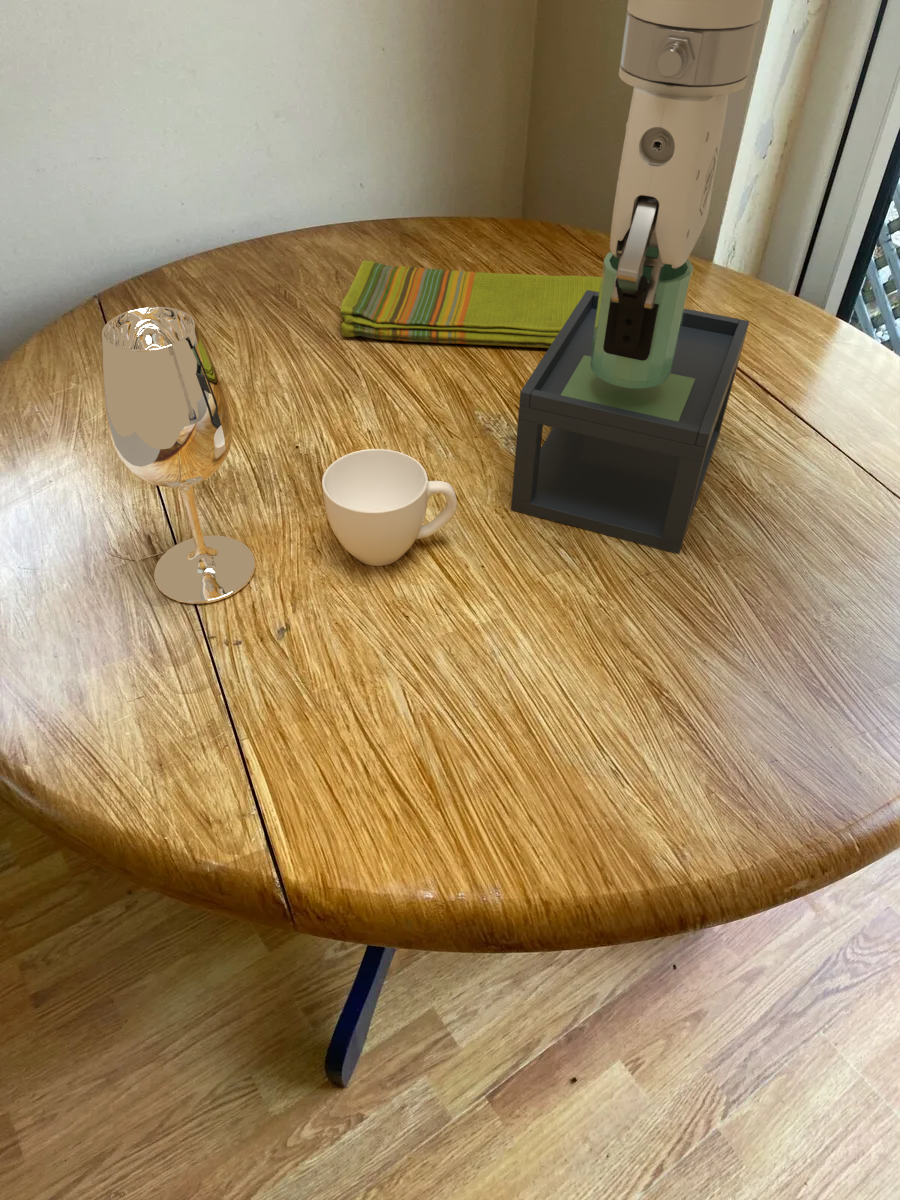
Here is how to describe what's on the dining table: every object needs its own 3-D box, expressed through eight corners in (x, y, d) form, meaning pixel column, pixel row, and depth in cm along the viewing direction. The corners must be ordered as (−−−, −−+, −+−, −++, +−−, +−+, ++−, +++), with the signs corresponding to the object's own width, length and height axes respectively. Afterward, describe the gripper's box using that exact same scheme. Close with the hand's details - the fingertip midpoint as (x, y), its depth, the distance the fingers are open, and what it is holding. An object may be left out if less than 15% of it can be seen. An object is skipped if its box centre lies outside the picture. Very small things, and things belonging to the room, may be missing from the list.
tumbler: (678, 356, 69) (700, 253, 63) (661, 396, 65) (683, 289, 59) (602, 341, 70) (616, 239, 65) (580, 378, 66) (594, 273, 61)
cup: (326, 521, 73) (319, 452, 69) (448, 511, 74) (449, 442, 70) (331, 586, 68) (324, 516, 63) (463, 574, 69) (466, 504, 64)
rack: (719, 434, 83) (749, 320, 75) (678, 554, 71) (709, 434, 63) (572, 401, 87) (586, 289, 79) (510, 510, 75) (520, 391, 67)
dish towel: (360, 275, 105) (358, 247, 103) (671, 291, 103) (676, 263, 101) (338, 340, 94) (335, 311, 92) (684, 360, 92) (691, 330, 90)
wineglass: (226, 617, 65) (170, 370, 51) (132, 591, 67) (54, 346, 53) (275, 549, 71) (237, 309, 57) (187, 527, 72) (129, 289, 58)
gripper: (725, 100, 46) (662, 404, 59) (771, 25, 58) (710, 292, 71) (584, 82, 48) (552, 380, 61) (656, 12, 60) (616, 275, 72)
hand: (637, 330), depth 66 cm, fingers closed on tumbler, 6 cm apart
